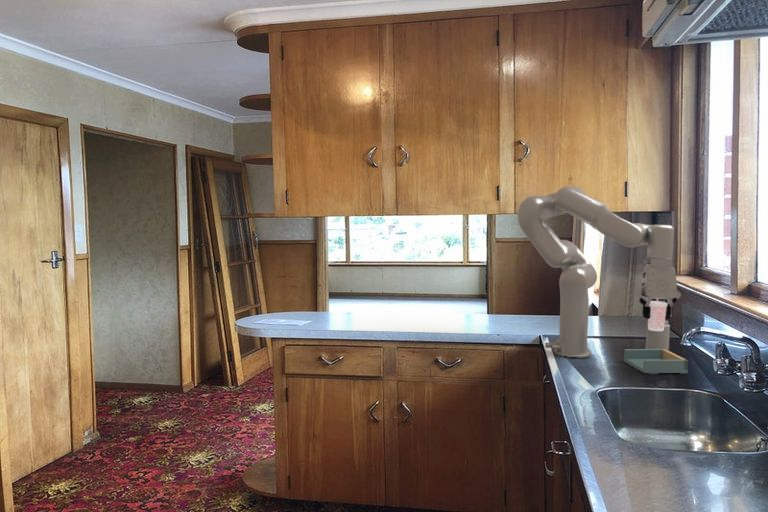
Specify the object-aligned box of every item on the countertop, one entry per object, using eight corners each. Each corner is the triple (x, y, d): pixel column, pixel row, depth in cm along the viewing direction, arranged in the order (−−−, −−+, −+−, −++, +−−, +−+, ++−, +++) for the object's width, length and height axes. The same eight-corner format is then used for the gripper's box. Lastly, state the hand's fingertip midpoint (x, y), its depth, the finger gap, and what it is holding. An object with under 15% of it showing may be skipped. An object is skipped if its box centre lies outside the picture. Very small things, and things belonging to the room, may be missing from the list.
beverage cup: (641, 329, 192) (644, 286, 191) (651, 326, 196) (654, 285, 194) (660, 332, 187) (662, 289, 186) (670, 330, 191) (672, 287, 189)
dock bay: (644, 373, 185) (645, 361, 185) (623, 361, 199) (624, 349, 199) (687, 373, 186) (688, 360, 186) (663, 360, 200) (664, 348, 200)
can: (670, 356, 206) (672, 322, 205) (648, 355, 207) (649, 321, 206) (665, 350, 213) (667, 318, 212) (643, 349, 215) (644, 317, 213)
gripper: (639, 264, 185) (636, 320, 187) (691, 264, 186) (688, 320, 188) (627, 261, 192) (625, 315, 194) (678, 261, 193) (675, 315, 195)
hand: (656, 317), depth 191 cm, fingers closed on beverage cup, 6 cm apart
